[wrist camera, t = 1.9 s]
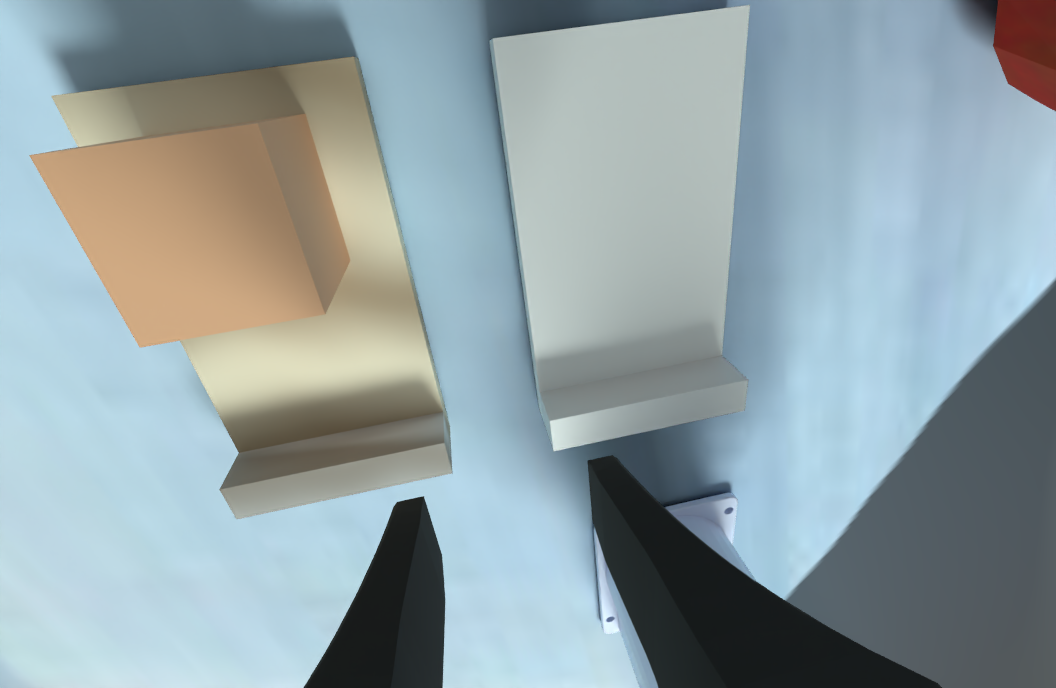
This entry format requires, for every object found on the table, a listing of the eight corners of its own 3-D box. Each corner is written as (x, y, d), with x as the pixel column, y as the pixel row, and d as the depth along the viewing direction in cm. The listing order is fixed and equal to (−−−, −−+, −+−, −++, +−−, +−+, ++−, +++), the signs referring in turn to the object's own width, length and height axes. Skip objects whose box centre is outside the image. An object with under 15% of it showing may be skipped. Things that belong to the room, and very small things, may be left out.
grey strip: (708, 373, 23) (744, 410, 20) (538, 407, 22) (553, 451, 19) (732, 9, 16) (791, -7, 13) (489, 41, 15) (501, 31, 13)
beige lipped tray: (449, 426, 21) (452, 472, 19) (261, 464, 21) (236, 519, 18) (358, 58, 15) (342, 52, 12) (74, 95, 14) (-8, 96, 11)
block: (350, 260, 16) (325, 314, 13) (211, 284, 16) (139, 347, 12) (305, 113, 14) (257, 123, 10) (142, 136, 14) (28, 155, 10)
